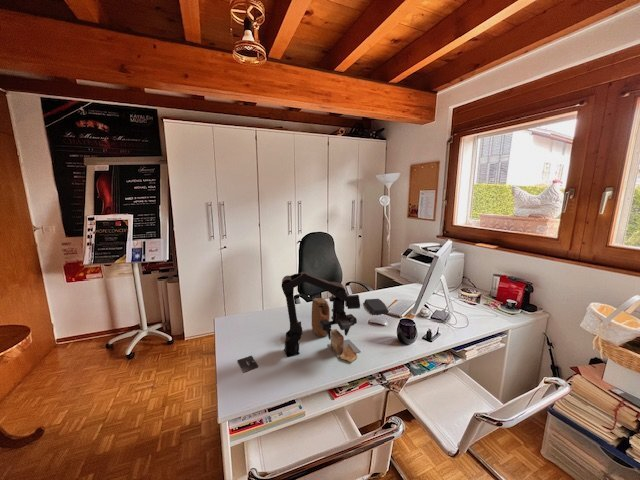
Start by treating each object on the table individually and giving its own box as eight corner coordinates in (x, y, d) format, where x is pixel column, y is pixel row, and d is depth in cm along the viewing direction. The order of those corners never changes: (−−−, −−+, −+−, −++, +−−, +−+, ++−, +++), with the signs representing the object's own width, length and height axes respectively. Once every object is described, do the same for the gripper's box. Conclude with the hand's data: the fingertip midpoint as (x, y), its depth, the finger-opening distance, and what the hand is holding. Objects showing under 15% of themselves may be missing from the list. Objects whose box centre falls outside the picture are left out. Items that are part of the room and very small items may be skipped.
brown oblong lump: (310, 330, 153) (310, 298, 150) (321, 327, 157) (322, 295, 153) (319, 339, 144) (319, 305, 140) (331, 335, 148) (331, 302, 144)
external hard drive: (380, 302, 193) (380, 297, 193) (390, 314, 175) (391, 309, 174) (362, 303, 192) (363, 298, 191) (371, 315, 173) (372, 310, 172)
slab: (337, 354, 130) (338, 338, 128) (330, 345, 137) (331, 330, 136) (343, 353, 131) (343, 336, 130) (335, 344, 138) (336, 329, 137)
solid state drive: (251, 356, 129) (251, 355, 129) (258, 368, 121) (258, 366, 120) (237, 361, 125) (237, 360, 125) (243, 373, 117) (243, 372, 117)
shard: (347, 346, 137) (348, 343, 136) (361, 351, 133) (362, 348, 133) (339, 358, 127) (339, 355, 127) (354, 364, 124) (354, 360, 123)
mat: (338, 358, 128) (338, 357, 128) (327, 345, 139) (327, 344, 139) (360, 352, 133) (360, 351, 133) (348, 339, 144) (348, 339, 144)
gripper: (328, 319, 119) (328, 350, 122) (363, 312, 127) (362, 341, 129) (318, 309, 129) (318, 338, 132) (351, 303, 137) (350, 330, 139)
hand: (337, 337), depth 133 cm, fingers open, 9 cm apart
